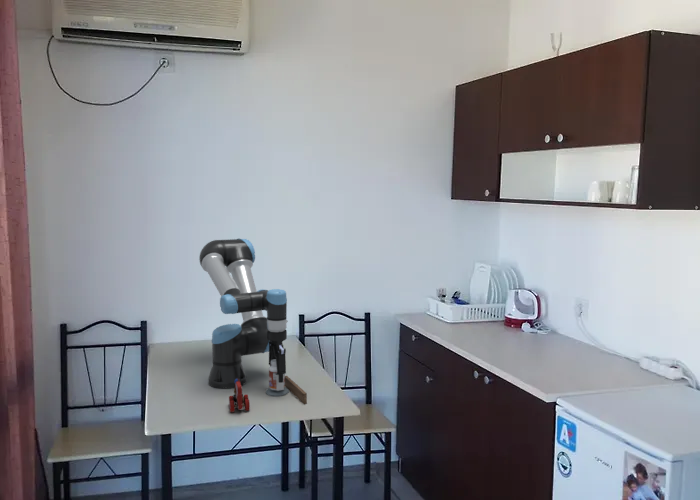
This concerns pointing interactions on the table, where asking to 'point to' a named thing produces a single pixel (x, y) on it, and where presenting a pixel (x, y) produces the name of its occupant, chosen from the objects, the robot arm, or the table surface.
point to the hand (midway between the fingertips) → (277, 386)
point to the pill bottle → (273, 375)
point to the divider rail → (296, 390)
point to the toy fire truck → (238, 398)
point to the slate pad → (277, 392)
